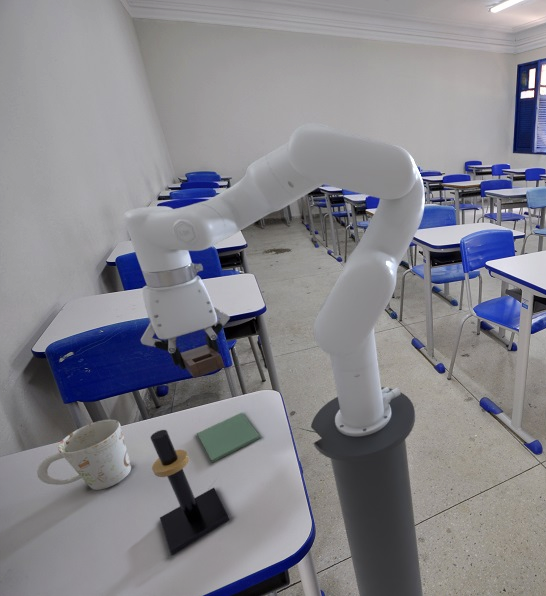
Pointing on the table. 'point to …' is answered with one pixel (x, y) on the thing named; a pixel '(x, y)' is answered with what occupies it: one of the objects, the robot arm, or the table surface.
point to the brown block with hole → (202, 361)
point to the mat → (227, 436)
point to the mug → (92, 456)
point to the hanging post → (184, 498)
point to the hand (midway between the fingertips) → (198, 360)
